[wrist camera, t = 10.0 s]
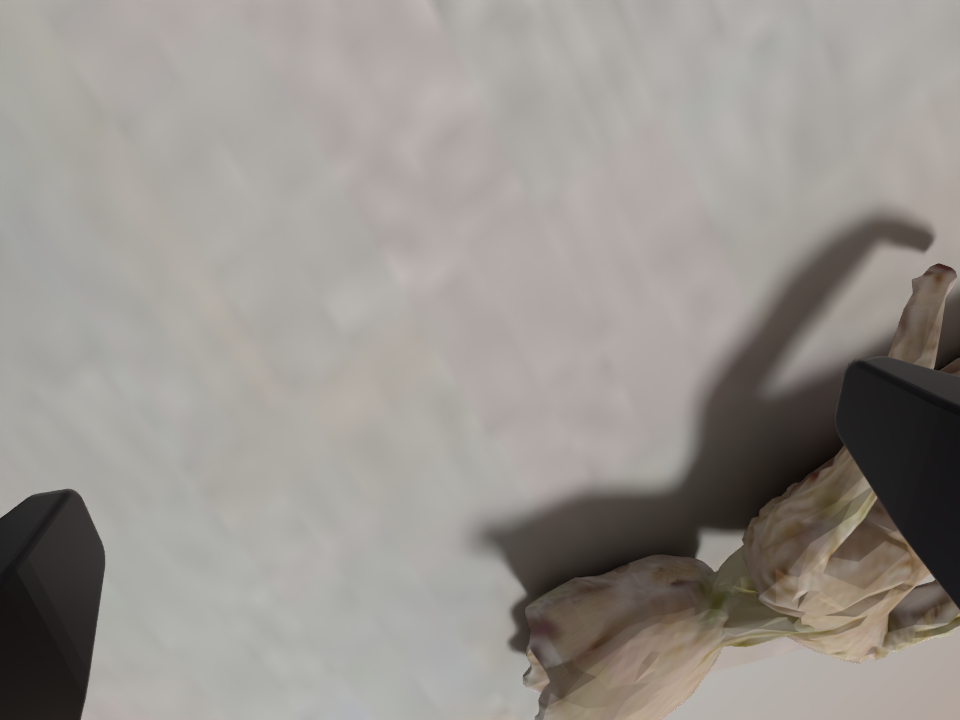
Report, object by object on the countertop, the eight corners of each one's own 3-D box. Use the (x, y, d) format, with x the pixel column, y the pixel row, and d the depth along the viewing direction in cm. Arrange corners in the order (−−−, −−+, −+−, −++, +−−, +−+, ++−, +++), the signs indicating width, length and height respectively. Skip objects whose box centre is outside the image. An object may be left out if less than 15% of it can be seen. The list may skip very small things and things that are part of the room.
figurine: (1115, 77, 25) (408, 560, 26) (1355, 103, 20) (450, 712, 21) (1129, 394, 34) (599, 747, 35) (1299, 474, 28) (663, 889, 29)
